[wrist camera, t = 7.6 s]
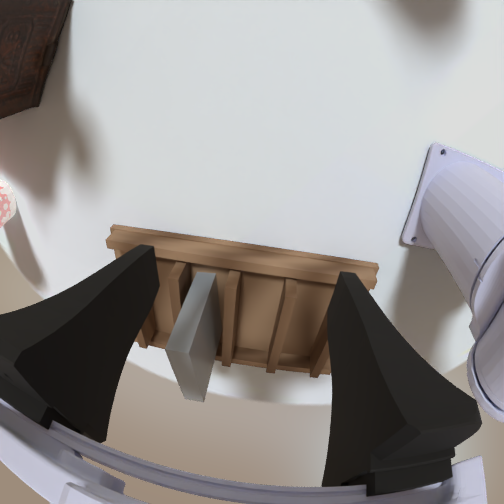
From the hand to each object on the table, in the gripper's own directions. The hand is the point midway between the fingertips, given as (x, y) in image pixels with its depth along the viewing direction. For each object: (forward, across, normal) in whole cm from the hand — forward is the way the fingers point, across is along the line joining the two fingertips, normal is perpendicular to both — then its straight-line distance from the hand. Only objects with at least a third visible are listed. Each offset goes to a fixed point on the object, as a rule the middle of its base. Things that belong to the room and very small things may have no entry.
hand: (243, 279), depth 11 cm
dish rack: (+10, +2, +11) cm, 15 cm away
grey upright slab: (+9, +4, +11) cm, 15 cm away
